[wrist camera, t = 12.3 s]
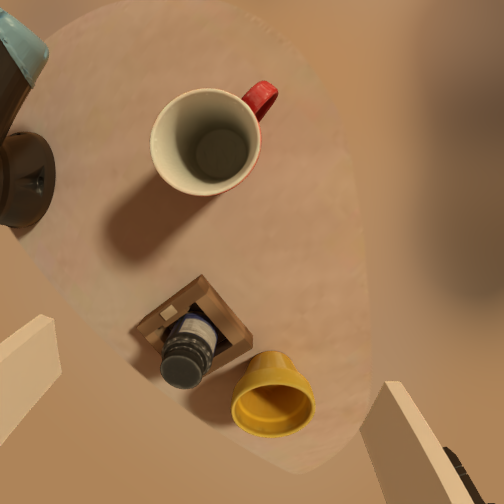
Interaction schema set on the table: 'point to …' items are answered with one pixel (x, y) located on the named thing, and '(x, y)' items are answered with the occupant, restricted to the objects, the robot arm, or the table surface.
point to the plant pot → (272, 397)
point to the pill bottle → (189, 350)
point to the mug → (210, 138)
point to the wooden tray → (213, 307)
